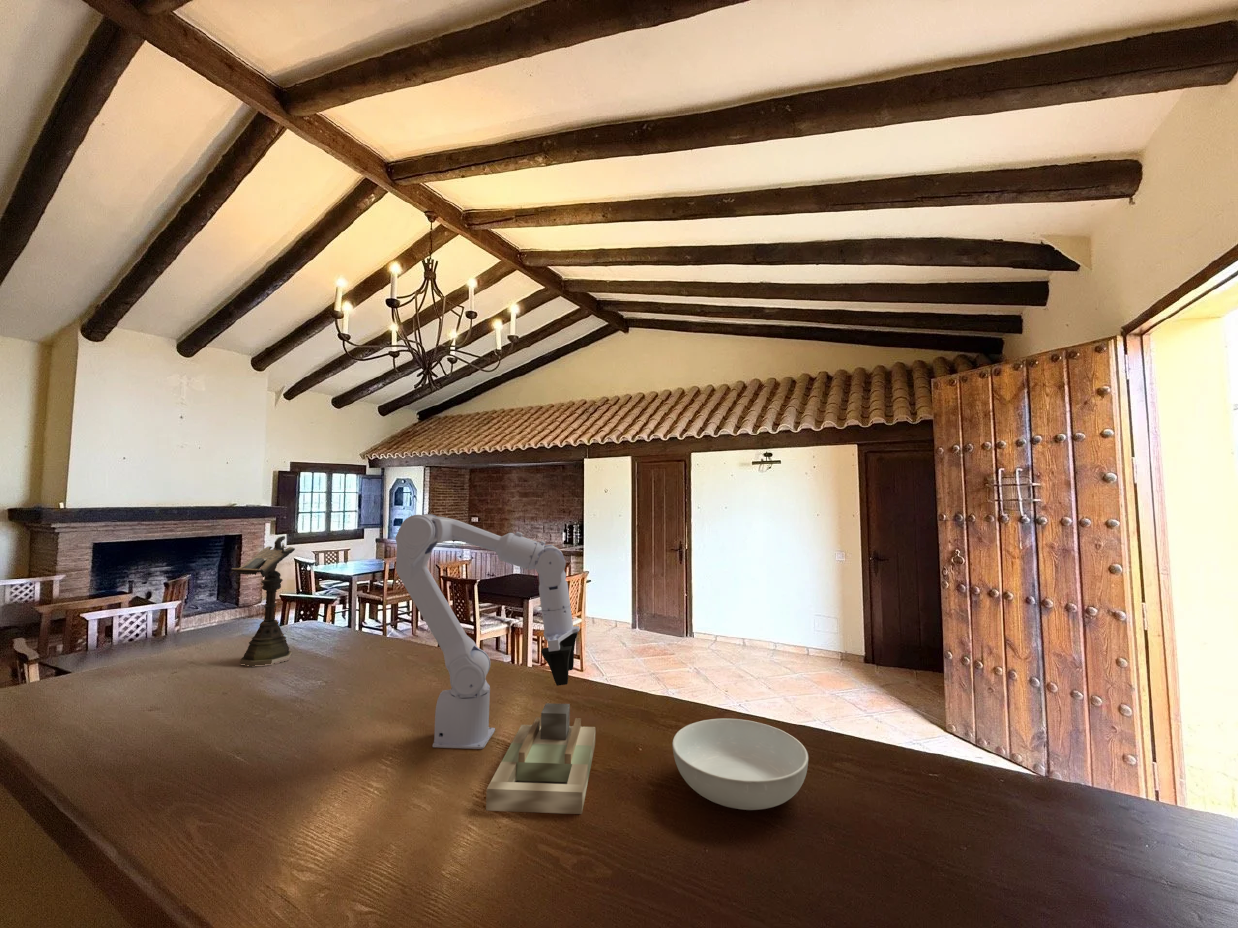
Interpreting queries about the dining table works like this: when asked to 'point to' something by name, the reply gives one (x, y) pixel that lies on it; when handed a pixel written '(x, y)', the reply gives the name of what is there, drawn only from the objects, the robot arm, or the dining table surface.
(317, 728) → the dining table surface
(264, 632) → the lectern
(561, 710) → the charcoal block
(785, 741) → the serving bowl
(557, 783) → the railed deck
